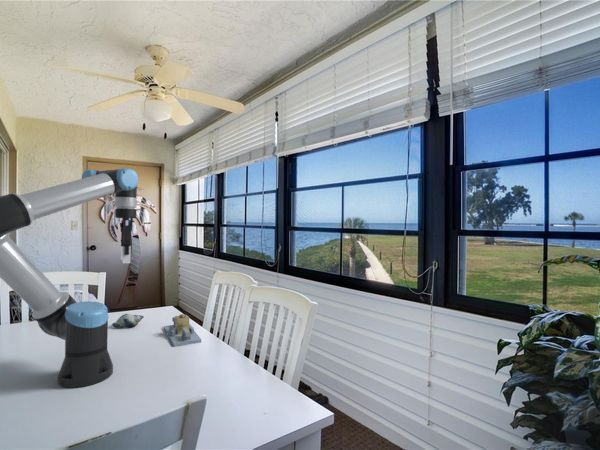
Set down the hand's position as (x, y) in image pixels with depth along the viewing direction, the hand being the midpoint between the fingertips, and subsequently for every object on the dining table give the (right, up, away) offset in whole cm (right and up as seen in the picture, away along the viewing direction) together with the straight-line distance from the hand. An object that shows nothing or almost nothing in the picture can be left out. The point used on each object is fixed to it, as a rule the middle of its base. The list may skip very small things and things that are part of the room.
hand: (125, 261), depth 134 cm
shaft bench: (+17, -35, +16) cm, 42 cm away
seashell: (-13, -35, +26) cm, 45 cm away
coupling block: (+17, -34, +16) cm, 41 cm away
